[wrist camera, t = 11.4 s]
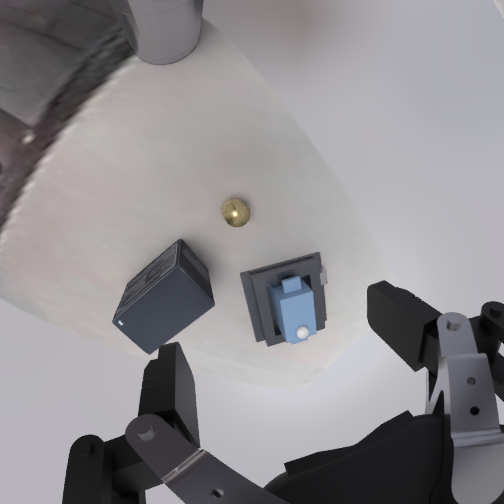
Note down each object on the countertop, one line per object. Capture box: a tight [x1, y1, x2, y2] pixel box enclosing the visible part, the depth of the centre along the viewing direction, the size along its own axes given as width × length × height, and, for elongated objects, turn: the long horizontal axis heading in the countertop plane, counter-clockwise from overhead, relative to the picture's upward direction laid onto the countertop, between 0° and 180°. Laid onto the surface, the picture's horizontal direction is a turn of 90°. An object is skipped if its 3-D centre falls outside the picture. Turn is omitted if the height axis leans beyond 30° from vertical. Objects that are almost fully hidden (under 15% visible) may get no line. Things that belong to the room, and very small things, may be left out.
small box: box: [112, 239, 215, 355], centre depth 34 cm, size 11×6×10 cm, turn 127°
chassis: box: [240, 252, 327, 347], centre depth 42 cm, size 12×12×3 cm
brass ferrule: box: [222, 198, 250, 227], centre depth 36 cm, size 3×3×4 cm
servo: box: [270, 276, 317, 344], centre depth 40 cm, size 10×4×6 cm, turn 11°
